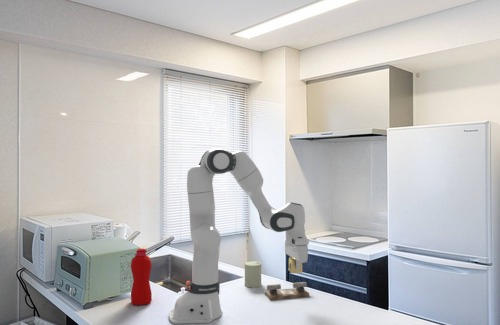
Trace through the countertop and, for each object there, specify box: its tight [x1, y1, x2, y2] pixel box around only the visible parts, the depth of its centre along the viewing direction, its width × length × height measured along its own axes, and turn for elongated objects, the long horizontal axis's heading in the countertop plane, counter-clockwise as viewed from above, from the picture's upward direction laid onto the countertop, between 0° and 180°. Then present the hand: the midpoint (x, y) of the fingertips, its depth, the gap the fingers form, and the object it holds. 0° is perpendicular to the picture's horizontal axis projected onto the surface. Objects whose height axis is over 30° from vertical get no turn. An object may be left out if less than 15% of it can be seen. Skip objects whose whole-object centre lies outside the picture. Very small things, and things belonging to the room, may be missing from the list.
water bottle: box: [126, 248, 153, 306], centre depth 180 cm, size 9×11×25 cm
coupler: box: [288, 257, 303, 274], centre depth 177 cm, size 5×4×6 cm
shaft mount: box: [264, 281, 310, 301], centre depth 189 cm, size 20×9×6 cm, turn 104°
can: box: [244, 260, 263, 289], centre depth 205 cm, size 9×9×12 cm
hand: (295, 267), depth 177 cm, fingers closed on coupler, 4 cm apart
